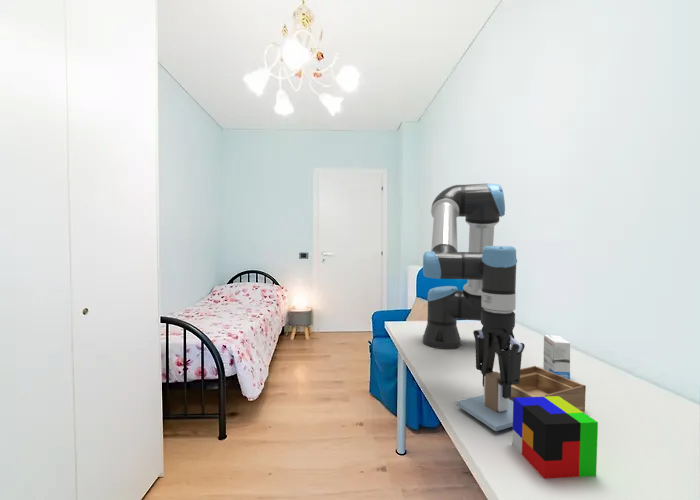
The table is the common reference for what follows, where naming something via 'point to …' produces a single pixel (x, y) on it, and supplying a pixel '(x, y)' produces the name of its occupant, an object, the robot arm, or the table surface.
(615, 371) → the table surface
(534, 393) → the oak box
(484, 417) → the cover plate
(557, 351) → the ink box
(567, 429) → the puzzle toy
